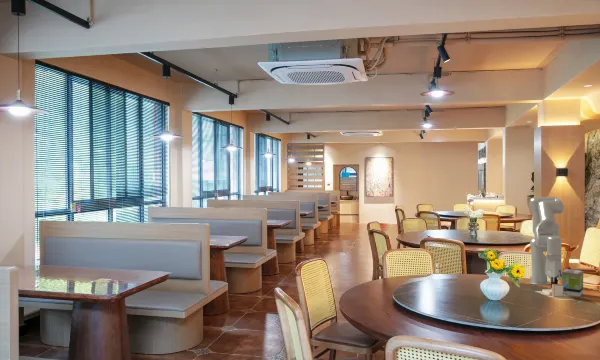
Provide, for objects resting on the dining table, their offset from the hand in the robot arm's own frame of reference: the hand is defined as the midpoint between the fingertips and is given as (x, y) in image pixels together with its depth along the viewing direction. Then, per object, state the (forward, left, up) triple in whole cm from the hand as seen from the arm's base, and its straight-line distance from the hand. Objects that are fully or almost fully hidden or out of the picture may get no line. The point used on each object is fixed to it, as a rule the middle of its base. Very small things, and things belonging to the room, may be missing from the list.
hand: (554, 288), depth 271 cm
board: (0, 0, -5) cm, 5 cm away
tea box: (-5, +15, -6) cm, 17 cm away
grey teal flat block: (-7, 0, -3) cm, 8 cm away
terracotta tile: (+3, 0, -4) cm, 5 cm away
